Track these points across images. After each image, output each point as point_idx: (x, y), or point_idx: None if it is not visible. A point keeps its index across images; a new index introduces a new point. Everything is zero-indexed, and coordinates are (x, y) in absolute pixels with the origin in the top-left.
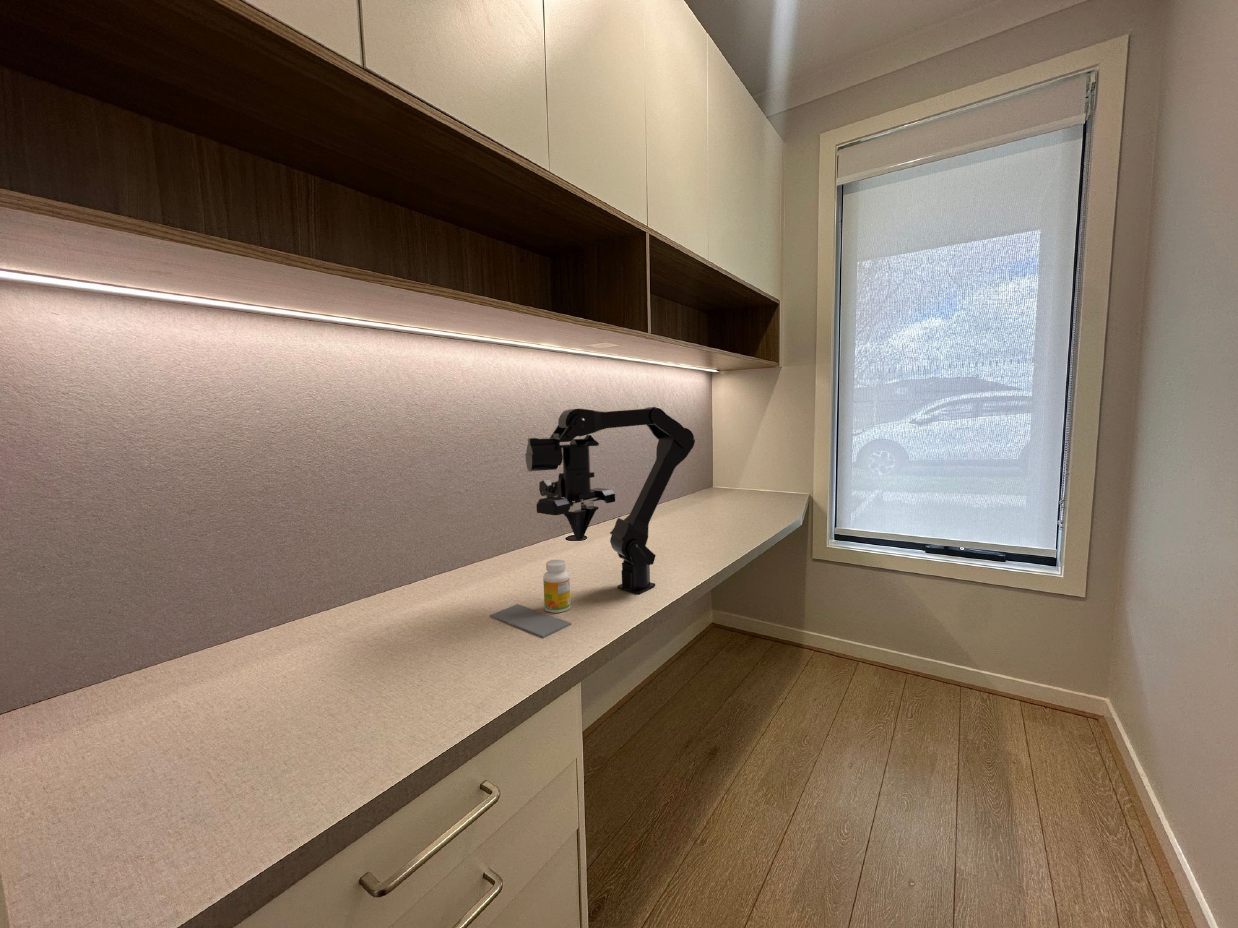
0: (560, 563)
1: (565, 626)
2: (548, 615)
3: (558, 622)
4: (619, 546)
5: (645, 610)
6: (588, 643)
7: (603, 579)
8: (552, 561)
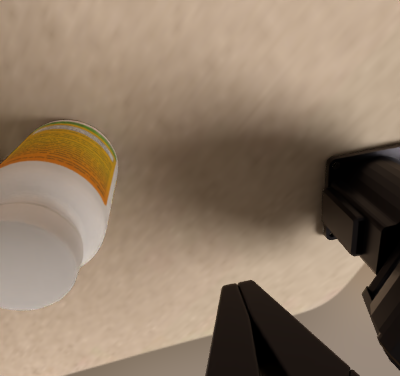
0: (32, 296)
1: None
2: None
3: None
4: (396, 323)
5: None
6: (38, 360)
7: (379, 40)
8: (5, 244)
